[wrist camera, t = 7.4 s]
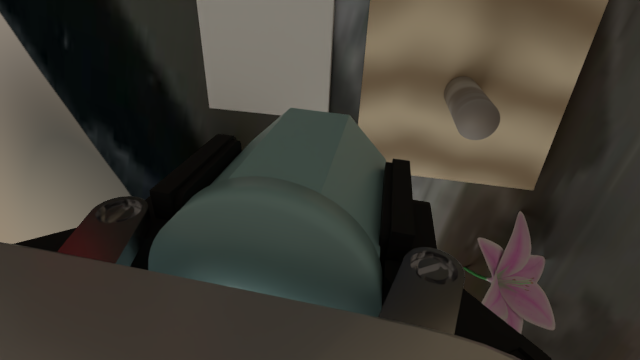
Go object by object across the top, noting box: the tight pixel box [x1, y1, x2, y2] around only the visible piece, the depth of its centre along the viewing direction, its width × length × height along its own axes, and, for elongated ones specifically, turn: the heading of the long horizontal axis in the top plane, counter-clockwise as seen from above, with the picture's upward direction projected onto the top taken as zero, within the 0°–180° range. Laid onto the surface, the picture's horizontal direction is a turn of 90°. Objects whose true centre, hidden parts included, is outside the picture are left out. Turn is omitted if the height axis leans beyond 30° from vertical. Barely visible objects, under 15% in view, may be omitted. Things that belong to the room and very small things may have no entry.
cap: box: [148, 108, 386, 317], centre depth 10 cm, size 5×5×6 cm
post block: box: [358, 0, 608, 190], centre depth 26 cm, size 16×16×9 cm
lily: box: [464, 211, 555, 334], centre depth 34 cm, size 12×12×10 cm
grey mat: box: [197, 0, 335, 115], centre depth 31 cm, size 12×12×1 cm
